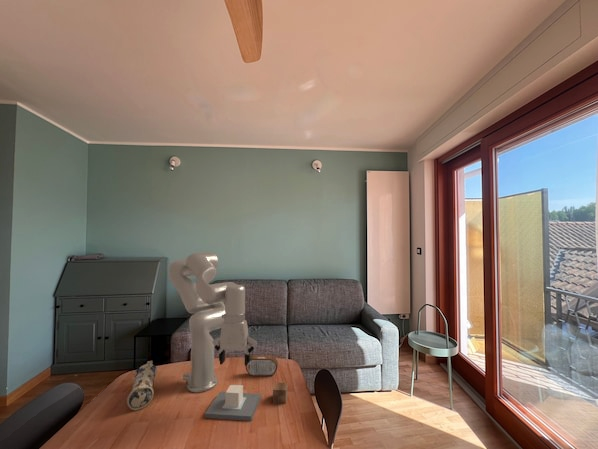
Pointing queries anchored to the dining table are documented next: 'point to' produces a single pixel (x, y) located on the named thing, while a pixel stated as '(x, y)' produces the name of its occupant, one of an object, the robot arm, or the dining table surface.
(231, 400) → the off-white block
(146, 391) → the pencil case
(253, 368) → the tin
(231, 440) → the dining table surface
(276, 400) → the walnut block
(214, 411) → the grey tray
